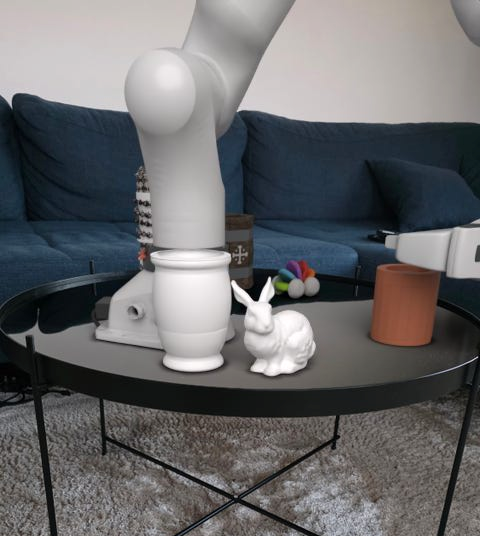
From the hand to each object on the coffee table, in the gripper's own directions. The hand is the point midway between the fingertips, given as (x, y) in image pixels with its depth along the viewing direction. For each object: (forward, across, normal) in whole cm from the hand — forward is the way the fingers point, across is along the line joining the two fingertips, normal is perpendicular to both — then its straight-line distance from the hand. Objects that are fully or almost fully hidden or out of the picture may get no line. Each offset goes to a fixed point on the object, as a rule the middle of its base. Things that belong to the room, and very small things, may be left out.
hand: (406, 238), depth 90 cm
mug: (+52, -3, +16) cm, 55 cm away
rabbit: (+1, +27, +16) cm, 31 cm away
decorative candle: (+46, +14, +16) cm, 51 cm away
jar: (+10, +34, +16) cm, 39 cm away
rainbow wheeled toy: (+33, -11, +16) cm, 38 cm away
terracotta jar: (-1, 0, +15) cm, 15 cm away
